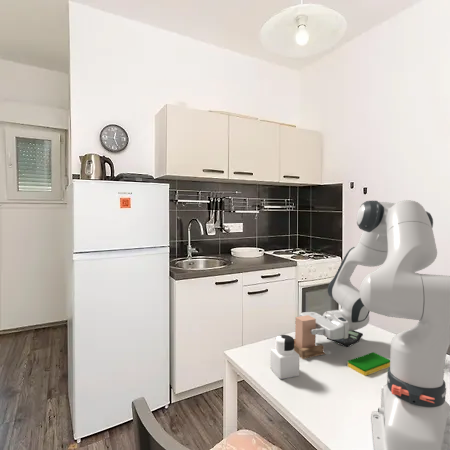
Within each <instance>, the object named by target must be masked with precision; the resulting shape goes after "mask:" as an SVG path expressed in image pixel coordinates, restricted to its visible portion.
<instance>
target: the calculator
mask: <svg viewBox="0 0 450 450" xmlns="http://www.w3.org/2000/svg"><path fill="white" fill-rule="evenodd" d="M362 337H363V332H360V331H357V330H354V331H349V332H348V338H346V339H344V338H342V339H337V340H332V339H329V338H327V337H326V340H329V341H332V342H334V343H336V344H338V343H339V345H341V346H343V345H344V347H346V348H349V347H350V345H351V346H353V345H354V344H356V343H358V342H360V340H361V339H362ZM352 344H353V345H352Z"/></svg>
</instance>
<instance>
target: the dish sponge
mask: <svg viewBox="0 0 450 450" xmlns="http://www.w3.org/2000/svg"><path fill="white" fill-rule="evenodd" d="M347 367H348V368H349V369H351V370H353V371H355V372H357V373H359V374H361V375H362V376H364V377H365V376H369V375H371V374H374V373H376V372H379V371H381V370H385V369H388V368H389V367H390V358H388V357H385V356H382V355H381V354H378V353H376V352H374V351H373V352H369V353H366V354H364V355H361V356H357V357H355V358H352V359H349V360H347Z"/></svg>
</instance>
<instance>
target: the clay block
mask: <svg viewBox="0 0 450 450" xmlns="http://www.w3.org/2000/svg"><path fill="white" fill-rule="evenodd" d="M295 321H296V324H295V328H294V329H295V331H294V332H295V333H294V335H295V337H294V339H295V344H296V345H297V346H299V347H300V348H306V347H311V346H316V335H317V334H315V335H313V334H311V333H310V329H312V328H315V329H316V319H315V318H313V317H311V316H309V315H307V316H300V317H299V316H296V317H295Z"/></svg>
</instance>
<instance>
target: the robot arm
mask: <svg viewBox="0 0 450 450" xmlns="http://www.w3.org/2000/svg"><path fill="white" fill-rule="evenodd" d="M356 224H357V226H358V228H359V229H360V230H361V231H362V232H361V235H360V236H359V237H360V238H359V240H358V243H357V244H356V245H355V246H353V247H351V248H349V250H348V251H347V252H346V254H345V256H344V257H343V259H342V261H341V264H340V266H339V267H338V270H337V271H336V274H335V275H334V277H333V278H332V279H331V281H330V282H329V284H328V286H327V294H328V296H329V297H330V298H331V299H332V300H333V301H335V302H336V303H337V304H339V306H340V307H341V308H340V309H332V310H327V311H325V312H323V314H322V315H321V314H320V313H317V312H316V311H305V312H300V313H299V316H298V317H300V316H307V315H309V316H311V317H313V318H315V319H316V329H315V328H312V329H310V333H311V334H313V335H315V334H316V335H318V336H324V337H325V338H326V339H327V338H329V339H332V340H337V339H342V338H344V339H346V338H348V332H349V331H357V330H360V329H363V328H364V327H366V326H367V325H368V324H369V323H370V312H372V313H375V314H378V315H381V316H385V317H388V318H397V319H405V320H413V321H414V320H415V321H417V323H416V324H415V325H414V326H413V327H411V328H409V329H405V330H403V331H400V332H398V333H397V334H395V335H394V337H392V338H391V341H390V351H389V352H390V353H389V354H390V357H389V360H390V367H387V373H386V379H387V381H386V384H385V385H382V386H381V390H380V407H378V409H377V410H373V411H371V414H370V419H371V421H370V422H371V430H372V440H373V450H450V403H448V401H447V400H446V394H447V387H446V382H445V379H444V378H445V365H446V358H447V353H448V349H449V347H450V275H443V274H431V273H430V274H428V273H418V272H419V271H423V270H425V269H427V268H428V267H430V266H431V265H432V264H433V263H434V262H435V260H436V259H437V257H438V256H437V255H438V249H437V244H436V239H435V235H434V230H433V227H434V219H433V216H432V215H431V213H430V212H428V211H426V210H425V208H424V206H423V205H422V204H421V203H420V202H418V201H415V200H412V199H411V200H408V199H406V200H405V199H404V200H401V201H398V202H396V203H395V202H387V201H385V202H384V201H378V200H366V201H364V202H362V204H361V205H360V206H359V208H358V210H357V212H356ZM358 265H359V266H363V267H368V268H369V267H371V268H372V267H373V268H374V267H377V269H375V270H374V271H371V272H369V273H367V274H366V275H365V276H364V278H363V279H362V281H361V283H360V285H359V288H357V287H355V286H354V285H353V284H352V282H351V277H352V276H353V274H354V271H355V270H356V268H357V266H358ZM294 324H295V325H296V320H295V321H294Z"/></svg>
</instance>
